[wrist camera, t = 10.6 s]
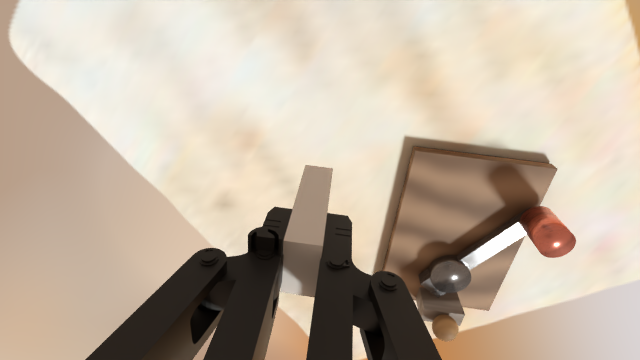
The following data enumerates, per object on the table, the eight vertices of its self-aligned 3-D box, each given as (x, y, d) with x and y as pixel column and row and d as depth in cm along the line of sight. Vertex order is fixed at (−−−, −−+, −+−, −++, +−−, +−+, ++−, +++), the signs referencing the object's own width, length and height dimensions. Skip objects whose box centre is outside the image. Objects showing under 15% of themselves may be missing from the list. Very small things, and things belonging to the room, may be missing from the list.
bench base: (413, 146, 45) (426, 180, 37) (551, 163, 45) (596, 202, 36) (378, 288, 58) (381, 337, 49) (485, 303, 57) (507, 355, 49)
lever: (532, 191, 45) (559, 220, 39) (557, 216, 46) (586, 248, 40) (414, 271, 53) (422, 306, 47) (438, 291, 54) (448, 326, 48)
